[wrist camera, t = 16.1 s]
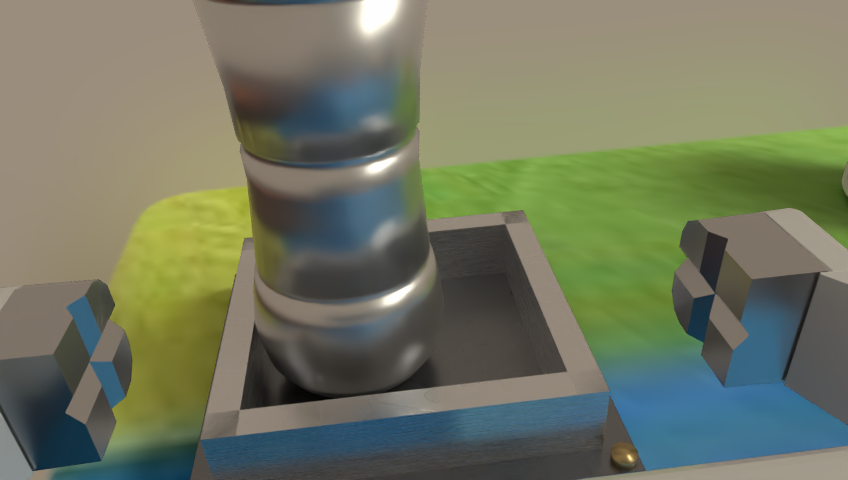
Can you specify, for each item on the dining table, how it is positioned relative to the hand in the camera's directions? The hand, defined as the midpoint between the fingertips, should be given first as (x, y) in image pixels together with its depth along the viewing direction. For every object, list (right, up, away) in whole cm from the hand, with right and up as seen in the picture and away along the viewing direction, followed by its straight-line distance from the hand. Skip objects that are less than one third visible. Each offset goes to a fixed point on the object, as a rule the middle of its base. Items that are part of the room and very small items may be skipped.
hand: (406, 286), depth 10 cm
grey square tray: (-1, -4, +16) cm, 17 cm away
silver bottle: (-2, -4, +16) cm, 16 cm away
